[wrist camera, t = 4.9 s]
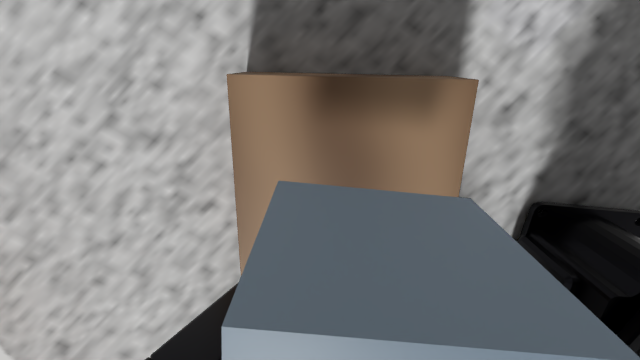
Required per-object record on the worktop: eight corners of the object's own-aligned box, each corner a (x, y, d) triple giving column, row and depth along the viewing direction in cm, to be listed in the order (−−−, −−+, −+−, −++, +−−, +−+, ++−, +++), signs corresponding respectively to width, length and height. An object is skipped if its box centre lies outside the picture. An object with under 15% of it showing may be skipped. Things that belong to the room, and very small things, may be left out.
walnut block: (444, 75, 17) (478, 79, 13) (420, 247, 20) (442, 289, 17) (248, 71, 17) (226, 74, 13) (256, 243, 20) (241, 285, 17)
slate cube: (470, 198, 9) (644, 362, 4) (430, 346, 10) (520, 586, 6) (278, 180, 9) (221, 326, 4) (269, 332, 10) (223, 565, 6)
